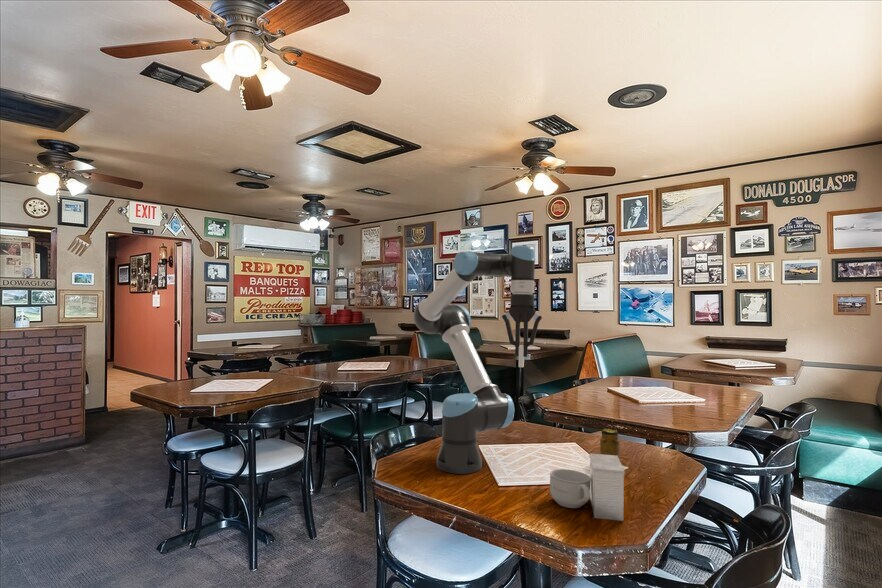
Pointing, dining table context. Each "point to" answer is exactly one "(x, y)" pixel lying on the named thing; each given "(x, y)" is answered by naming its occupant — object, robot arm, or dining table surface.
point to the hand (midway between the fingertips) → (521, 366)
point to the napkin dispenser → (606, 486)
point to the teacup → (569, 487)
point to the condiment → (610, 443)
